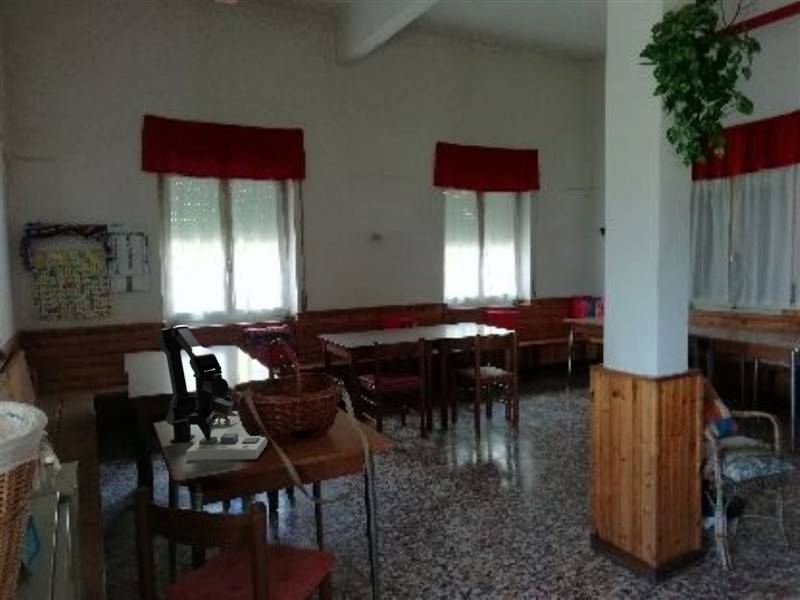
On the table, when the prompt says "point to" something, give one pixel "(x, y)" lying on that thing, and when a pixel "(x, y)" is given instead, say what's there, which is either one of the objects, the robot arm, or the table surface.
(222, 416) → the dinosaur figurine
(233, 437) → the middle button
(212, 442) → the button
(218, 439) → the button panel
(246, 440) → the button
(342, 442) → the table surface
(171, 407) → the robot arm
